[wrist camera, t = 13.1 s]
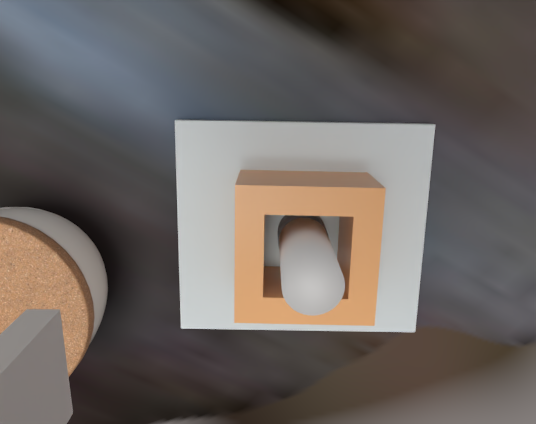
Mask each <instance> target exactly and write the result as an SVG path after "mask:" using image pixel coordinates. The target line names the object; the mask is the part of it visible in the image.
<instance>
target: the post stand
mask: <svg viewBox="0 0 536 424" xmlns="http://www.w3.org/2000/svg"><path fill="white" fill-rule="evenodd" d="M434 134H435V125H434V124H426V123H364V122H303V121H241V120H179V119H178V120H175V147H176V180H177V213H178V246H179V280H180V313H181V328H182V329H244V330H306V331H369V332H415V328H416V318H417V308H418V298H419V288H420V277H421V267H422V257H423V247H424V236H425V226H426V216H427V206H428V195H429V185H430V175H431V165H432V154H433V144H434ZM240 170H278V171H324V172H368V173H369V174H370V175H371V176H372V177H373V178H375V179H376V180H377V181H378V182H379V183H380V184H381V185H383V186H384V187H385V188H386V192H385V204H384V216H383V228H382V241H381V253H380V265H379V277H378V290H377V302H376V314H375V326H356V325H309V324H262V323H234V273H235V183H236V181H237V178H238V175H239V172H240ZM339 218H340V216H297V215H265V237H264V266H278V267H280V271H281V288H282V294H283V297H284V299H285V301H286V302H287V304H288V305H289V306H290V307H291V308H292V309H293V310H295V311H297V312H299V313H301V314H304V315H311V316H313V315H321V314H324V313H327V312H329V311H330V310H332V309H333V308H335V307H336V306H337V305H338V303H339V302H340V301H341V299H342V297H343V295H344V291H345V280H344V276H343V273H342V271H341V268H340V266H339V263H338V261H337V252H338V235H339Z"/></svg>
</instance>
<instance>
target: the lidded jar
mask: <svg viewBox="0 0 536 424" xmlns="http://www.w3.org/2000/svg"><path fill="white" fill-rule="evenodd" d="M107 294H108V282H107V274H106V270H105V266H104V262H103V260H102V257H101V255H100V253H99V251H98V249H97V248H96V246H95V244H94V243H93V242H92V240H91V239H90V238H89V237H88V236H87V234H86V233H84V232H83V231H82V230H81V229H80V228H79V227H78V226H76V225H75V224H73V223H72V222H70V221H69V220H67V219H65V218H63V217H61V216H59V215H57V214H54V213H51V212H48V211H45V210H42V209H37V208H31V207H3V208H0V334H1V333H2V332H3V331H4V330H5V329H6V328H7V327H8V326H9V325H11V324H12V323H13V322H14V321H15V320H16V319H17V318H18V317H19V316H20V315H21V314H22V313H23V312H24V311H25V310H26V309H60V313H61V321H62V329H63V337H64V345H65V353H66V361H67V369H68V377H69V376H70V375H71V374H72V372H73V371H74V369H75V368H76V367H77V365H78V364H79V363H80V361H81V360H82V358H83V357H84V354H85V352H86V350H87V348H88V346H89V344H90V343H91V341H92V339H93V338H94V336H95V334H96V332H97V330H98V328H99V325H100V323H101V321H102V318H103V315H104V311H105V307H106V302H107Z"/></svg>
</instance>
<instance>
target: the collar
mask: <svg viewBox="0 0 536 424" xmlns="http://www.w3.org/2000/svg"><path fill="white" fill-rule="evenodd" d="M385 192H386V188H385V187H384V186H383V185H381V184H380V183H379V182H378V181H377V180H376V179H375V178H373V177H372V176H371V175H370V174H369V173H368V172H324V171H278V170H240V172H239V175H238V178H237V181H236V183H235V273H234V323H262V324H309V325H356V326H375V314H376V302H377V290H378V277H379V265H380V253H381V241H382V228H383V216H384V204H385ZM265 215H297V216H340V218H339V235H338V252H337V261H338V263H339V266H340V268H341V271H342V273H343V276H344V280H345V291H344V295H343V297H342V299H341V301H340V302H339V303H338V305H337V306H336V307H335V308H333V309H332V310H330V311H329V312H327V313H324V314H321V315H313V316H311V315H304V314H301V313H299V312H297V311H295V310H293V309H292V308H291V307H290V306H289V305H288V304H287V302H286V301H285V299H284V297H283V294H282V288H281V271H280V267H278V266H264V237H265Z"/></svg>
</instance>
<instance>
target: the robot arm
mask: <svg viewBox="0 0 536 424" xmlns="http://www.w3.org/2000/svg"><path fill="white" fill-rule="evenodd" d="M72 414H73V410H72V402H71V393H70V385H69V377H68V369H67V361H66V353H65V345H64V337H63V329H62V321H61V313H60V309H26V310H25V311H24V312H23V313H22V314H21V315H20V316H19V317H18V318H17V319H16V320H15V321H14V322H13V323H12V324H11V325H9V326H8V327H7V328H6V329H5V330H4V331H3V332H2V333H1V334H0V424H67V422H68V420H69V419H70V417H71V415H72Z"/></svg>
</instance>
